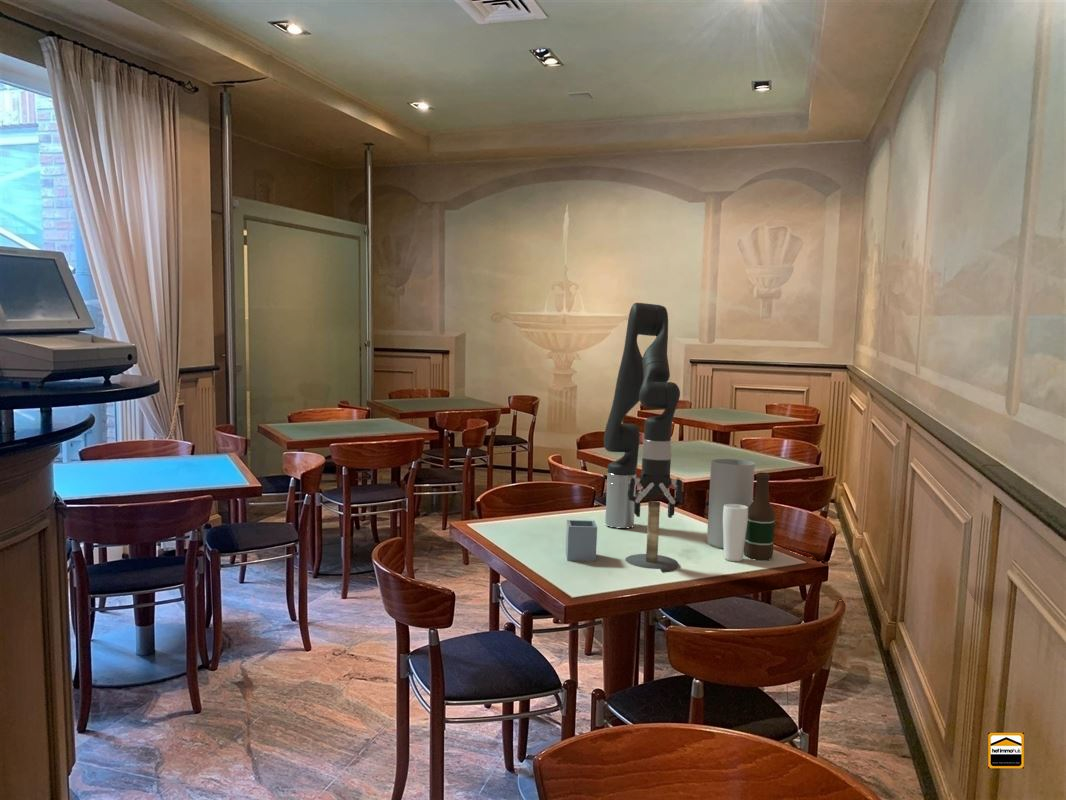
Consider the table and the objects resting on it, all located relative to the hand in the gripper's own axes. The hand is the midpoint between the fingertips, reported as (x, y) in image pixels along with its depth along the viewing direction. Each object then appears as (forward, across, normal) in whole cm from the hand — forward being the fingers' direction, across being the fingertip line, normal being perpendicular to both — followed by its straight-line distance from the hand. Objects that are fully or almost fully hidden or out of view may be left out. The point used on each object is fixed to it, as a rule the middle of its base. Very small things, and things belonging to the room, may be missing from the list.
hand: (653, 516), depth 208 cm
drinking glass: (+13, -24, -7) cm, 28 cm away
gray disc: (+13, 0, 0) cm, 13 cm away
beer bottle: (+13, -32, -10) cm, 36 cm away
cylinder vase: (+13, -27, -23) cm, 38 cm away
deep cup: (+13, +19, -2) cm, 23 cm away
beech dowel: (+12, 0, 0) cm, 12 cm away
